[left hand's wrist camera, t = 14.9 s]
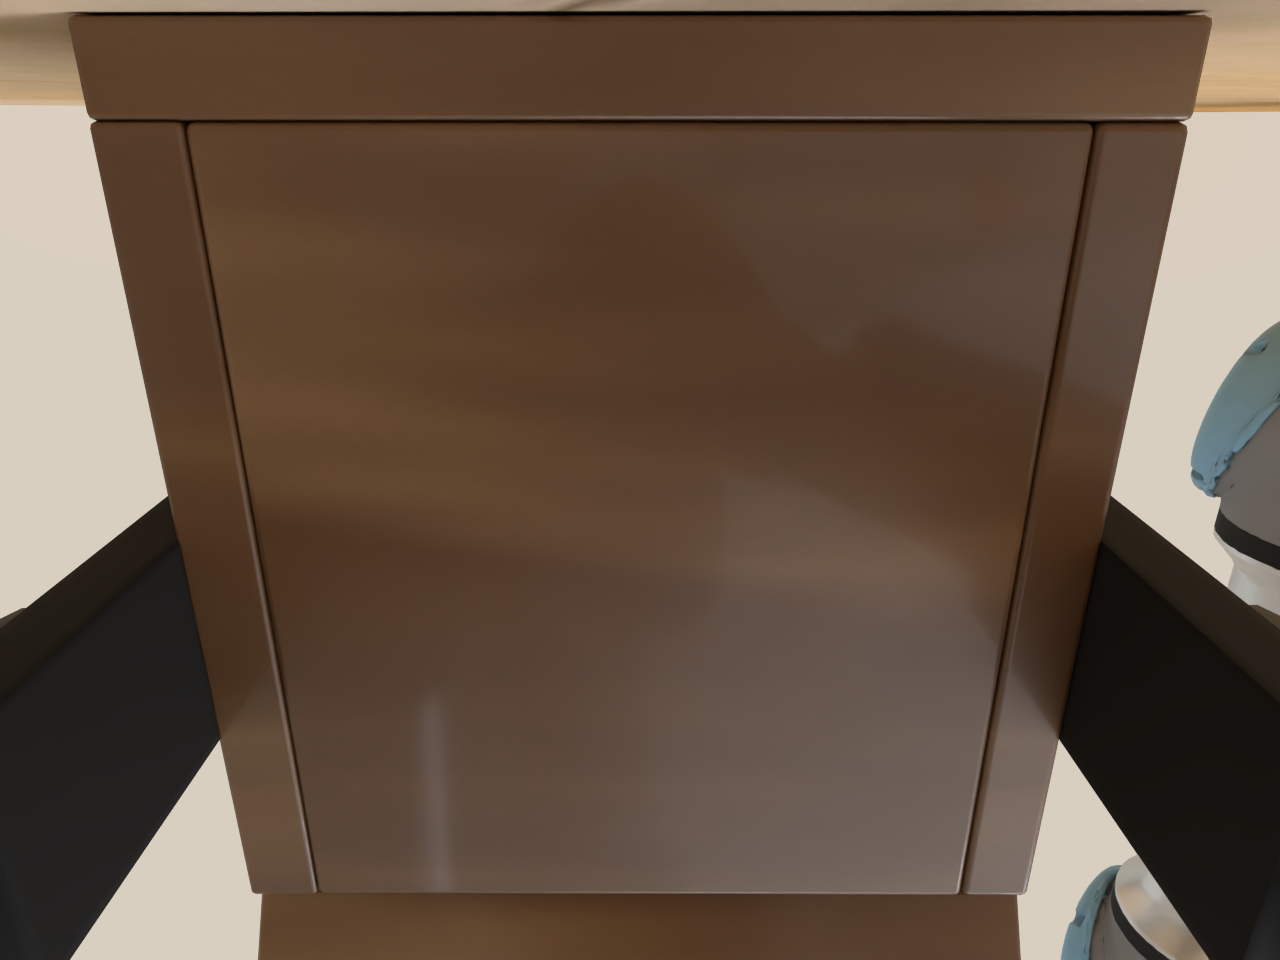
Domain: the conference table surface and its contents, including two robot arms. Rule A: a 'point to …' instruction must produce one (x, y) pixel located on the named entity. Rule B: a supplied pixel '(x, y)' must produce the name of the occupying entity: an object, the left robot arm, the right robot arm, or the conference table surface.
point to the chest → (639, 425)
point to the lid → (637, 926)
